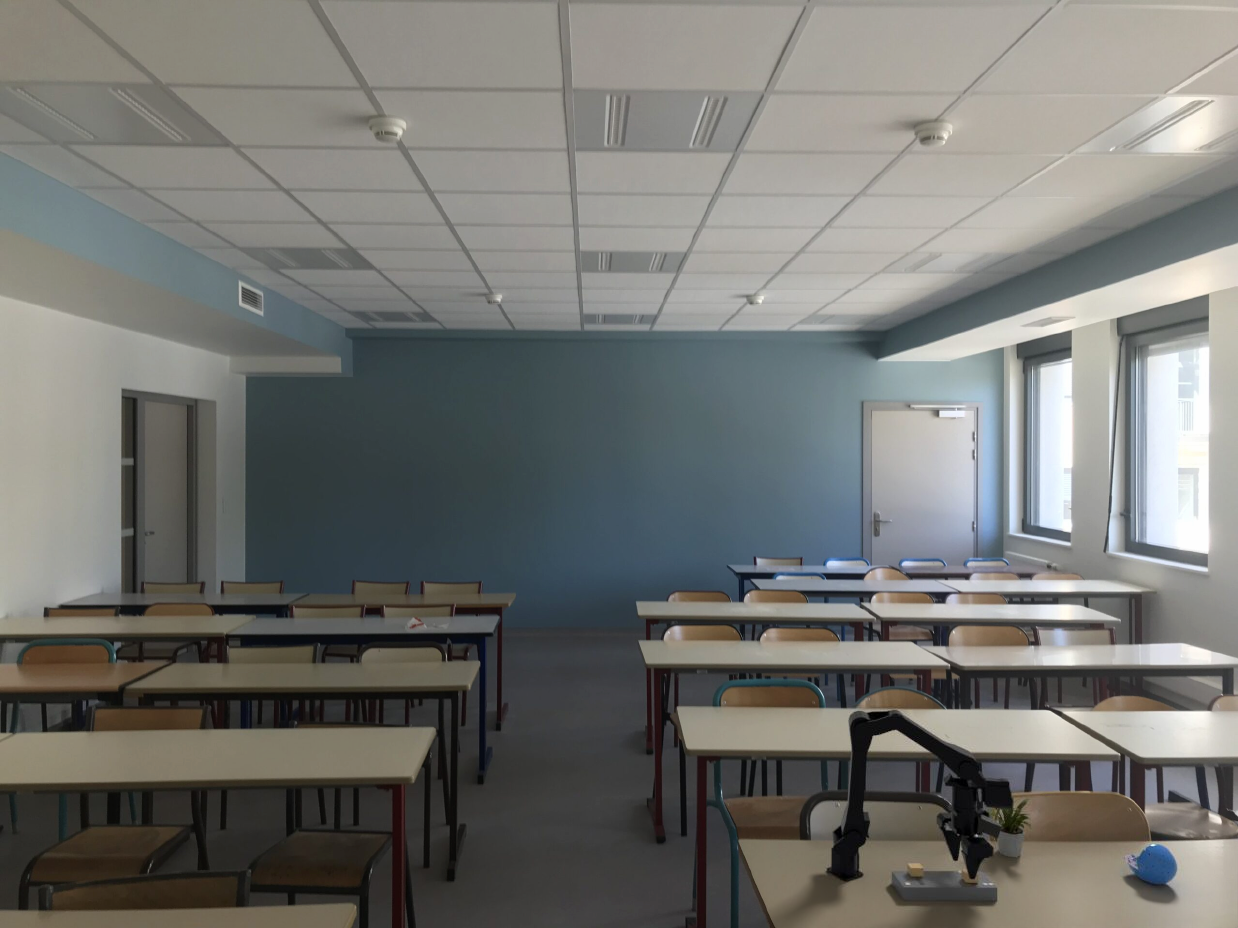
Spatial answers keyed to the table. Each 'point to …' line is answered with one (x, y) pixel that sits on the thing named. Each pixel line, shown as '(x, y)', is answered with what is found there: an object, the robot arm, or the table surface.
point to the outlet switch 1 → (915, 869)
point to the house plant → (1011, 829)
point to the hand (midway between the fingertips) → (963, 869)
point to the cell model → (1153, 864)
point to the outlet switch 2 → (966, 876)
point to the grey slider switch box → (943, 886)
